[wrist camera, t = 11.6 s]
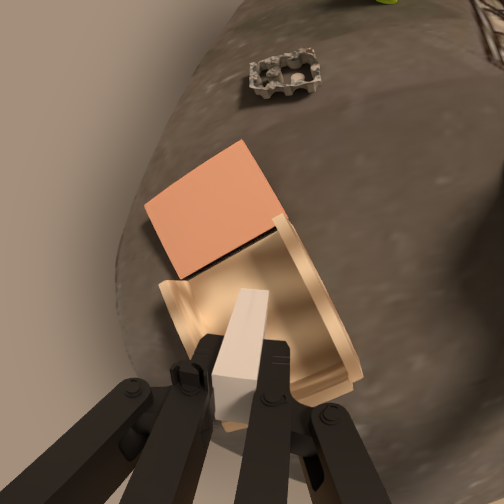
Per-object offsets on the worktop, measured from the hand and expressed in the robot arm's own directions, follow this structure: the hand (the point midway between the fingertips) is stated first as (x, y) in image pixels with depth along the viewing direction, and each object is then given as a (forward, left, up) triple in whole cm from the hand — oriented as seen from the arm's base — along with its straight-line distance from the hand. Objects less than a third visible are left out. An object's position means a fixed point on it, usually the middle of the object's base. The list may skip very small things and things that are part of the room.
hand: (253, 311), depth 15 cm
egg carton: (-26, -18, -19) cm, 37 cm away
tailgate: (0, -10, -18) cm, 20 cm away
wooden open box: (+5, -1, -19) cm, 19 cm away
